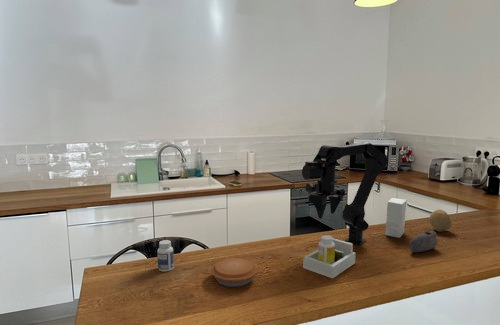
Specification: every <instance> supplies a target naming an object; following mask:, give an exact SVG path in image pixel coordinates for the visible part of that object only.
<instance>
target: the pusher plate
mask: <svg viewBox="0 0 500 325" xmlns="http://www.w3.org/2000/svg"><path fill="white" fill-rule="evenodd" d="M343 257H344V252H342V251H339V250H336V249H335V258H334V262H337V261H338V260H340V259H342V258H343Z"/></svg>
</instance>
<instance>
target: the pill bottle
mask: <svg viewBox="0 0 500 325" xmlns="http://www.w3.org/2000/svg"><path fill="white" fill-rule="evenodd" d="M158 246H159V247H158V249H157V267H158V268H157V269H158V270H159V271H161V272H163V273H164V272H170V271H171V270H174V268H175V264H174V263H175V262H174V248H173V246H172V242H171V240H168V239H166V240H165V239H164V240H160V241H159V243H158Z"/></svg>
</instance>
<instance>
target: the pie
mask: <svg viewBox="0 0 500 325" xmlns="http://www.w3.org/2000/svg"><path fill="white" fill-rule="evenodd" d="M258 271H259V269H258V266H257V264H256V263H254V262H253V261H251V260H247V259H244V258H239V257H238V258H237V257H236V258H235V257H231V258H226V259H222V260H220V261H218V262H216V263H214V264H213V265H212V266H211V268H210V272H211V275H212V276H213V277H214V278H215V280H216V281H217V282H218V283H219V285H222V286H225V287H227V288H228V287H229V288H238V287H243V286H245V285H248V284H249V283H250V282H251V281H252V279H253V278H254V277H255V275H257V273H258Z"/></svg>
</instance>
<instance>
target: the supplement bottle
mask: <svg viewBox="0 0 500 325" xmlns="http://www.w3.org/2000/svg"><path fill="white" fill-rule="evenodd" d="M333 239H334V237H332V236H331V235H328V234H327V235H322V236H320V241H319V242H318V249H317V250H318V260H319V261H322V262H325V263H328V264H331V265H332V264H334V258H335V244H334V242H333Z"/></svg>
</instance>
